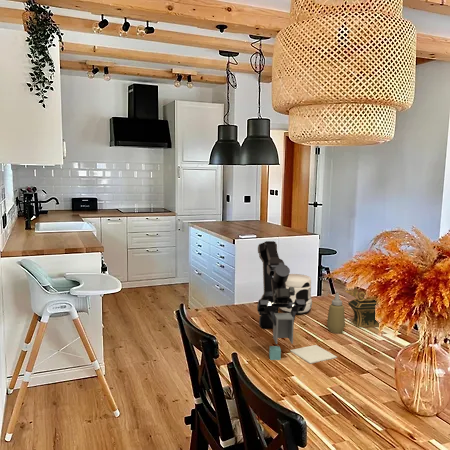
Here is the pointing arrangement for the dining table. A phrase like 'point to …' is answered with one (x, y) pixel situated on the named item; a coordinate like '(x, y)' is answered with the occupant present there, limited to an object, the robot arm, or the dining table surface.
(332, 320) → the squeeze bottle
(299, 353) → the cream square tile
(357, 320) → the decorative box
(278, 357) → the teal cube
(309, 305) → the cream spotted cookie jar
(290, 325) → the charcoal hood
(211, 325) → the dining table surface
